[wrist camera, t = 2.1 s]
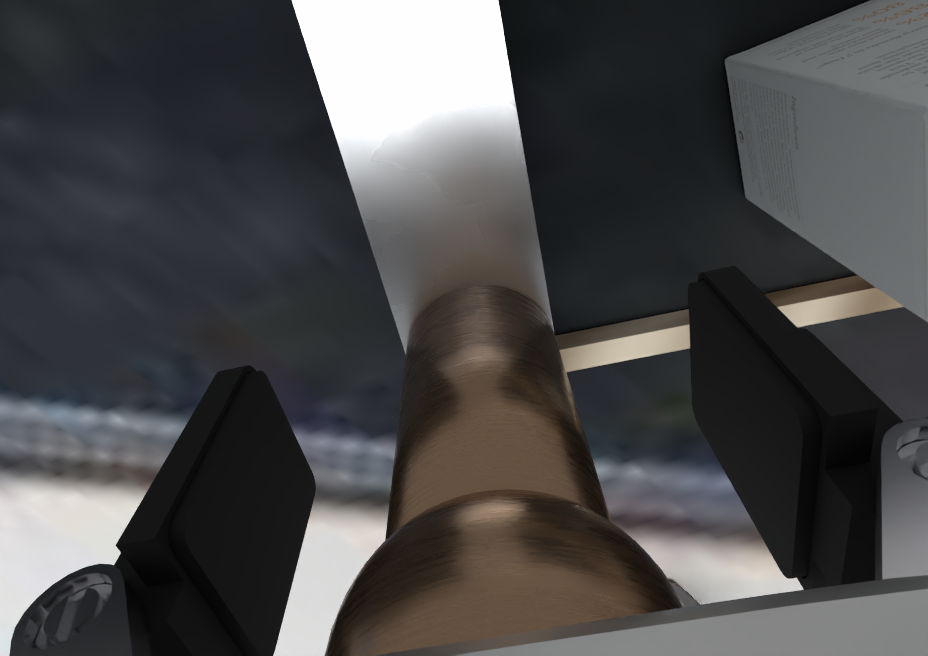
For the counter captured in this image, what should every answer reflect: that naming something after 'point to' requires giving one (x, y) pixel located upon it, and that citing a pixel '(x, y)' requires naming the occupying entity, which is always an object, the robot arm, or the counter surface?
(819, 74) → the small box
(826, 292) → the frame
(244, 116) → the counter surface
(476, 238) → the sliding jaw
